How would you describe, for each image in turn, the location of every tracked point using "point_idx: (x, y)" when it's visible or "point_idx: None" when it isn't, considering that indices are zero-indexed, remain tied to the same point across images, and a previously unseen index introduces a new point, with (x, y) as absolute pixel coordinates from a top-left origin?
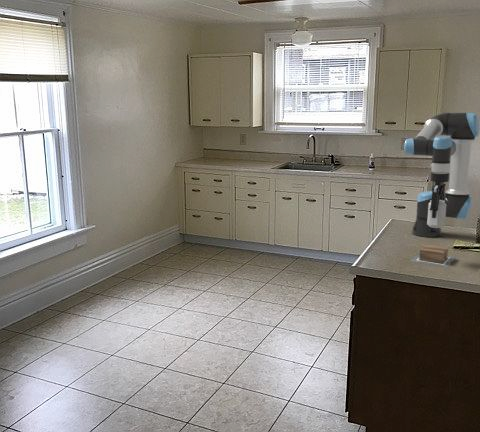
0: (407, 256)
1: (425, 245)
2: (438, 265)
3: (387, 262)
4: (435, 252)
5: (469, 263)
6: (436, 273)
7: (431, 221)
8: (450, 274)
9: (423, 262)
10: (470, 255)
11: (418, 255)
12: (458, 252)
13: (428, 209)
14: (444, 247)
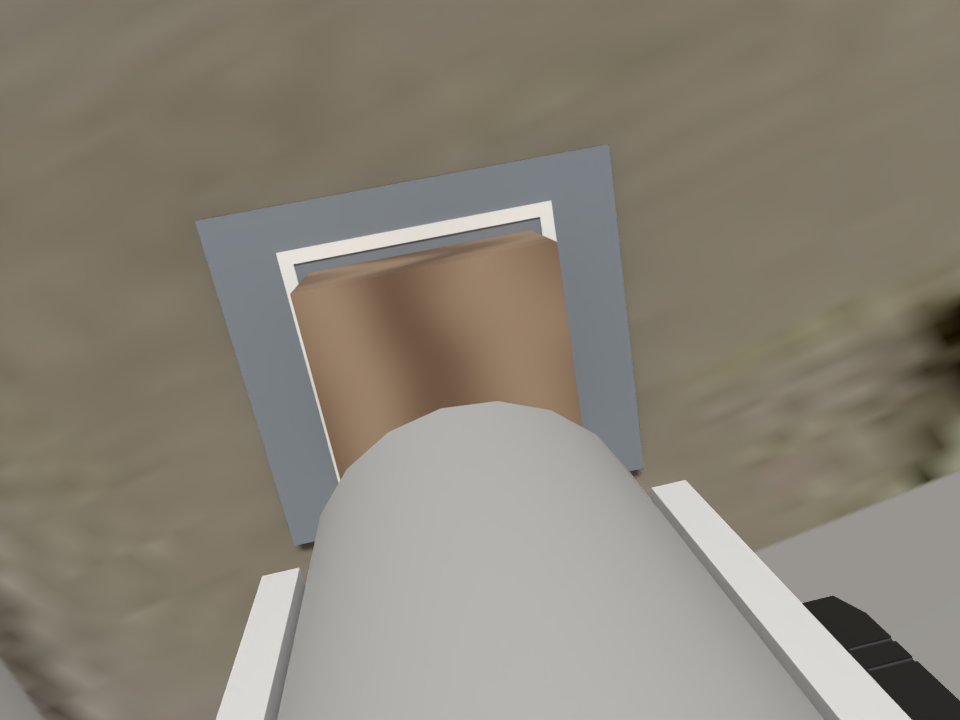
0: (396, 87)
1: (507, 260)
2: (292, 474)
3: (18, 10)
4: (335, 458)
5: None
6: (124, 528)
7: (254, 640)
8: (195, 608)
9: (271, 337)
10: (793, 502)
11: (453, 192)
12: (826, 400)
13: (360, 713)
14: None
